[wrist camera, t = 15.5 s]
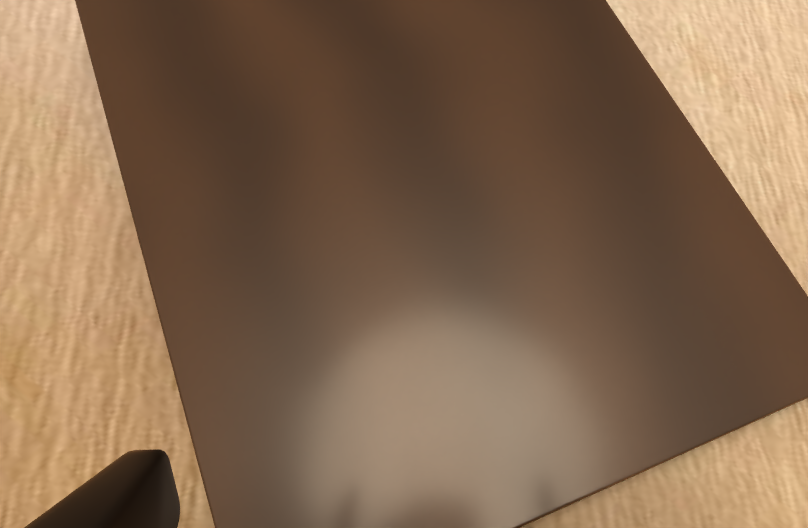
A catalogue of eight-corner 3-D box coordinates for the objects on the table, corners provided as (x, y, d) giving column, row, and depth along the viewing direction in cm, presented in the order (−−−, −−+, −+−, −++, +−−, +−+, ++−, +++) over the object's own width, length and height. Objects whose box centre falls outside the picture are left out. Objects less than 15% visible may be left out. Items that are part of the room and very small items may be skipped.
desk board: (264, 635, 18) (246, 650, 16) (97, 31, 27) (73, -4, 25) (821, 384, 21) (861, 373, 19) (506, -98, 29) (512, -138, 27)
